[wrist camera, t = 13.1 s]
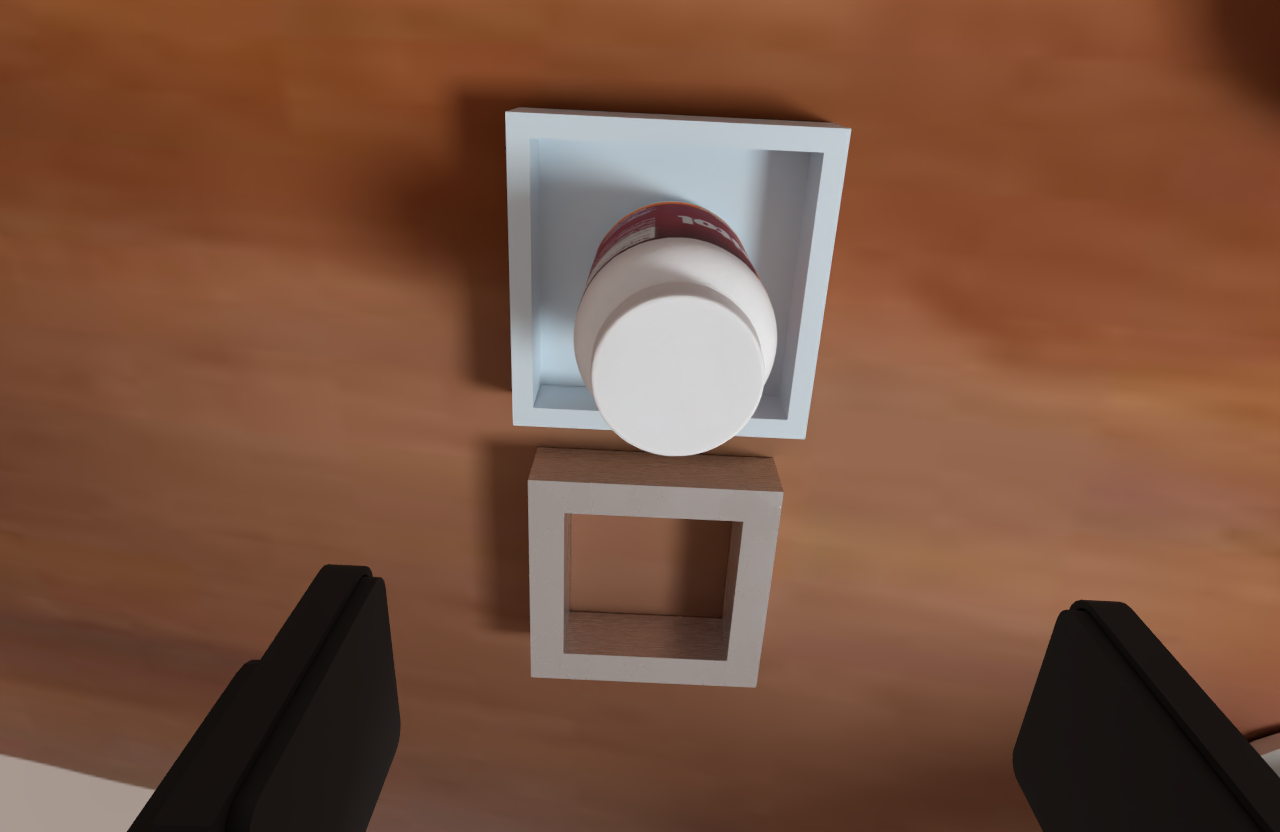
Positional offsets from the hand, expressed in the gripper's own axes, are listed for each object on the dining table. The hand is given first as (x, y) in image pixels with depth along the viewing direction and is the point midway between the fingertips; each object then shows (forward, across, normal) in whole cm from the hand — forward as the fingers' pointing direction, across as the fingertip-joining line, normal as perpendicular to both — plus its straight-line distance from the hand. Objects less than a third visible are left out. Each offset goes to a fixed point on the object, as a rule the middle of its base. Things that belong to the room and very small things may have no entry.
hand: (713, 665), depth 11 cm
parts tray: (+22, 0, 0) cm, 22 cm away
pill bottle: (+22, 0, 0) cm, 22 cm away
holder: (+22, 0, +13) cm, 26 cm away
